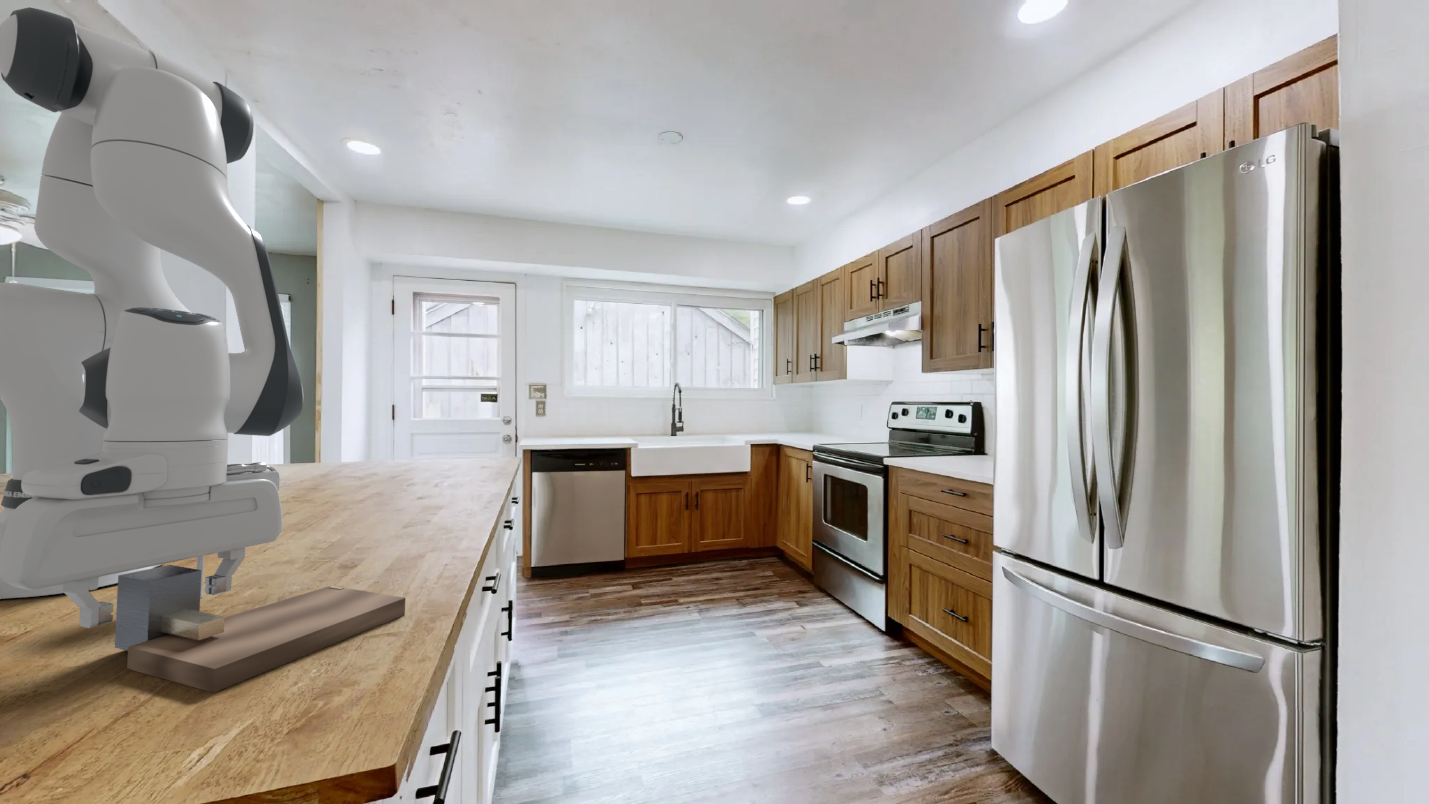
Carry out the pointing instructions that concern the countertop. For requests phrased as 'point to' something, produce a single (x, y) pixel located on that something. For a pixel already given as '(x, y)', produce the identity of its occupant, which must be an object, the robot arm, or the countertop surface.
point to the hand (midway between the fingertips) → (162, 607)
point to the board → (264, 637)
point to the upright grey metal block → (162, 606)
